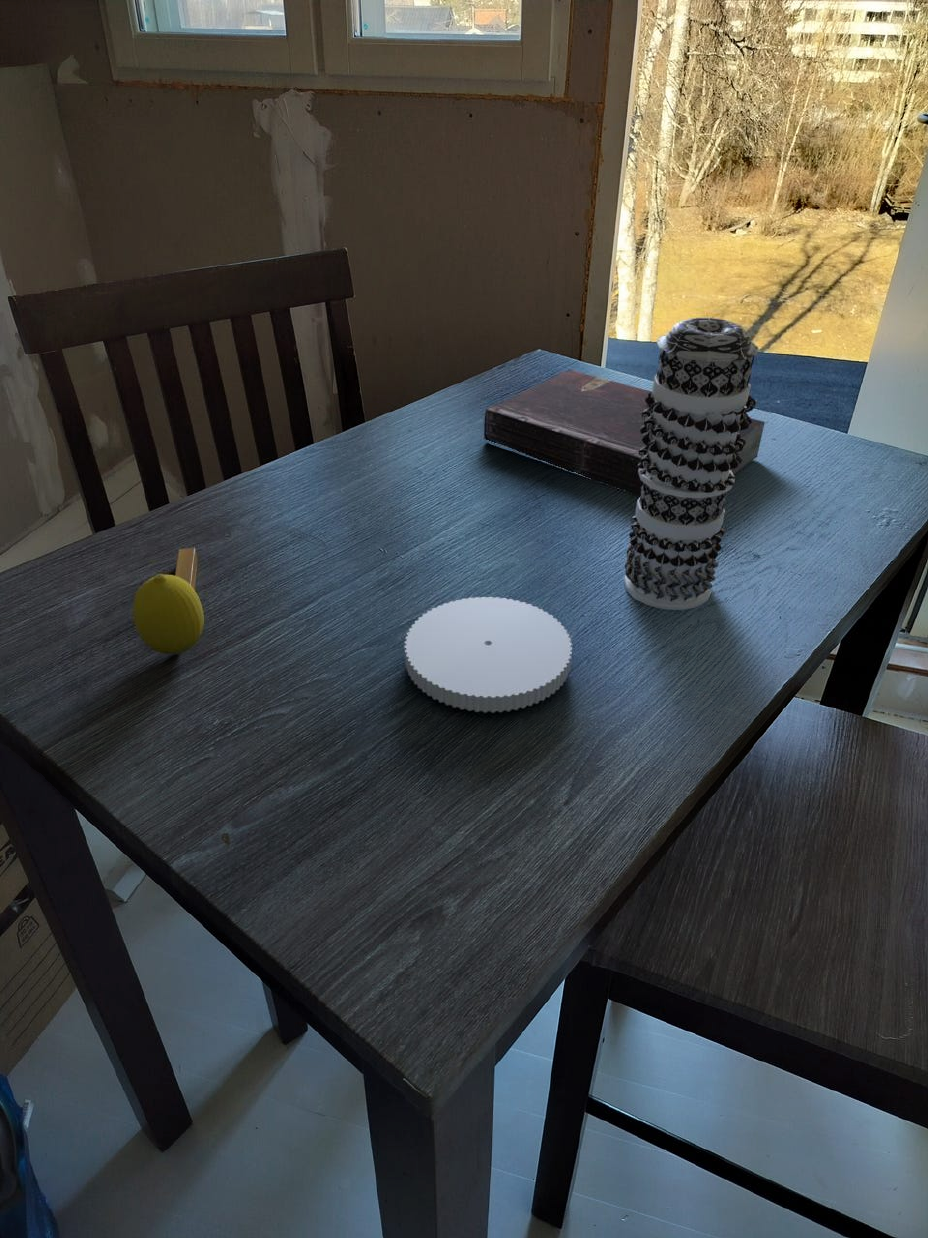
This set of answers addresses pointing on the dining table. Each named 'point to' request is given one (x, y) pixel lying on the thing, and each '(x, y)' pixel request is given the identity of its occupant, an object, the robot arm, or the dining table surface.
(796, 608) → the dining table surface
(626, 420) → the hardback book
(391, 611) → the dining table surface
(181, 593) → the lemon
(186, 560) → the block
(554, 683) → the white gear wheel
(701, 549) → the decorative candle
